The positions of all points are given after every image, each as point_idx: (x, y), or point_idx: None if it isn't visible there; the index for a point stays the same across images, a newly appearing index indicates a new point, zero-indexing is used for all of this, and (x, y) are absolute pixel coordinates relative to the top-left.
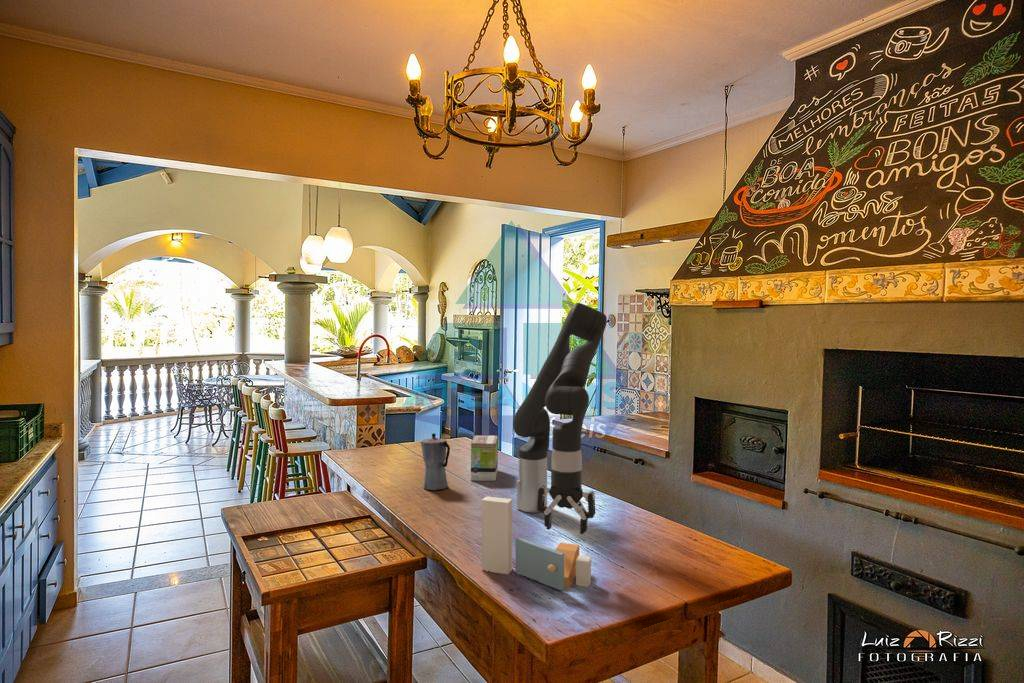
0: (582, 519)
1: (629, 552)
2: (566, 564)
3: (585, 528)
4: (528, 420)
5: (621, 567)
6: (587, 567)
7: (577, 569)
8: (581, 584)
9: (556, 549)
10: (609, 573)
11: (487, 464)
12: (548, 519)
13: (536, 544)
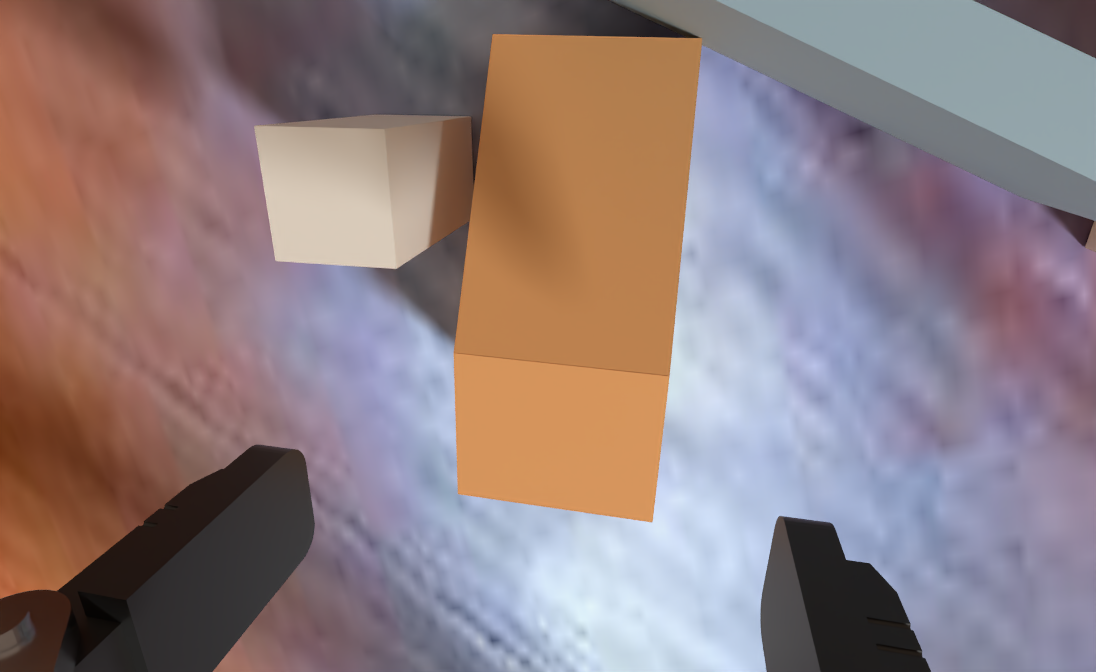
0: (104, 619)
1: (288, 633)
2: (527, 180)
3: (180, 503)
4: None
5: None
6: (299, 123)
7: (409, 122)
8: (424, 116)
9: (659, 362)
10: (308, 360)
11: None
12: (837, 656)
13: (955, 75)
